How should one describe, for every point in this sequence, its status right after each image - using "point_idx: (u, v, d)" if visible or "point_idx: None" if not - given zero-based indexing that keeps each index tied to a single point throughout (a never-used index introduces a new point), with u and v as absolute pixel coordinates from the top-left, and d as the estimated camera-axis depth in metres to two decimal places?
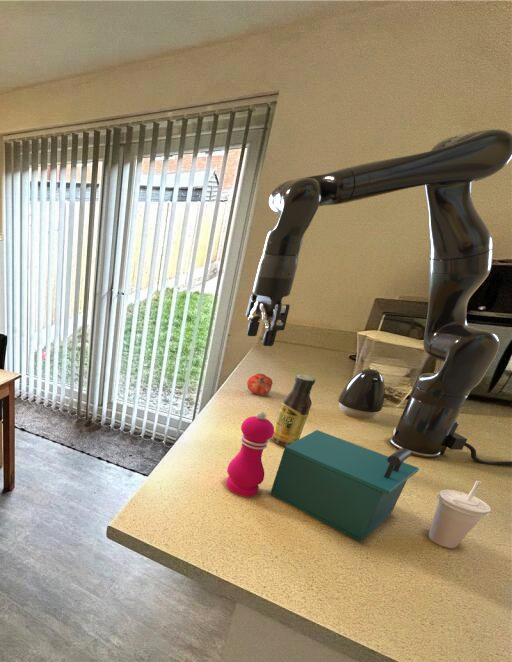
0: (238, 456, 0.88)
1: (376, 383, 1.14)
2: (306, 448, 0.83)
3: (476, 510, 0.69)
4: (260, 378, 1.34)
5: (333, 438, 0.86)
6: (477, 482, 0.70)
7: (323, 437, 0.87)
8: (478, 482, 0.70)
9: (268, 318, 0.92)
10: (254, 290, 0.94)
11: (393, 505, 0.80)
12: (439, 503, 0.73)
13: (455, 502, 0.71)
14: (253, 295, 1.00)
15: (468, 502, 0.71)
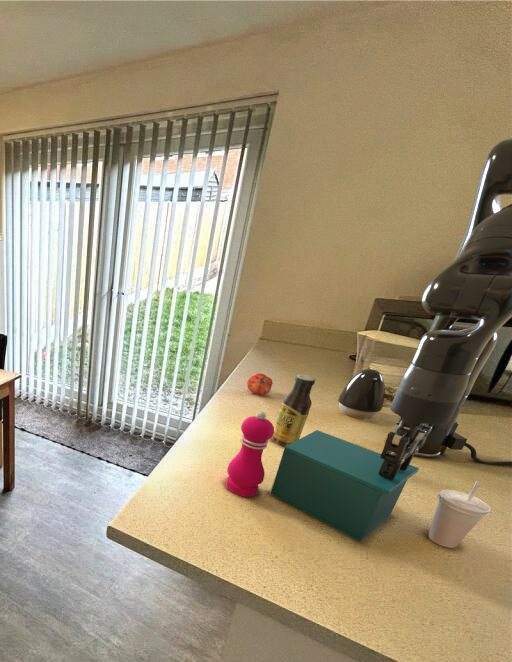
0: (238, 456, 0.88)
1: (376, 383, 1.14)
2: (306, 448, 0.83)
3: (476, 510, 0.69)
4: (260, 378, 1.34)
5: (333, 438, 0.86)
6: (477, 482, 0.70)
7: (323, 437, 0.87)
8: (478, 482, 0.70)
9: None
10: None
11: (393, 505, 0.80)
12: (439, 503, 0.73)
13: (455, 502, 0.71)
14: None
15: (468, 502, 0.71)
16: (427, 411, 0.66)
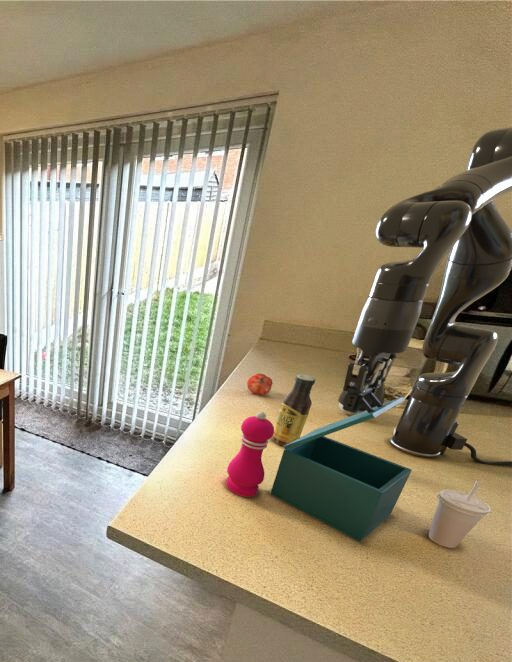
0: (238, 456, 0.88)
1: None
2: (302, 438, 0.83)
3: (476, 510, 0.69)
4: (260, 378, 1.34)
5: (329, 424, 0.86)
6: (477, 482, 0.70)
7: (319, 428, 0.87)
8: (478, 482, 0.70)
9: None
10: None
11: (393, 505, 0.80)
12: (439, 503, 0.73)
13: (455, 502, 0.71)
14: None
15: (468, 502, 0.71)
16: (384, 340, 0.69)
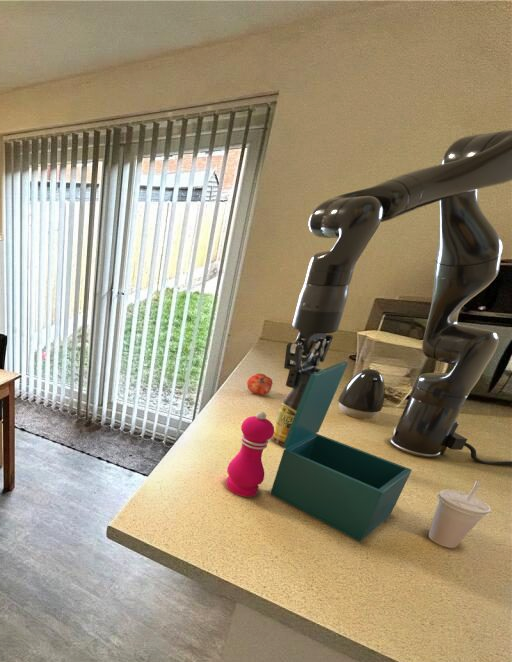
0: (238, 456, 0.88)
1: (376, 383, 1.14)
2: None
3: (476, 510, 0.69)
4: (260, 378, 1.34)
5: None
6: (477, 482, 0.70)
7: None
8: (478, 482, 0.70)
9: None
10: None
11: (393, 505, 0.80)
12: (439, 503, 0.73)
13: (455, 502, 0.71)
14: None
15: (468, 502, 0.71)
16: (316, 321, 0.77)
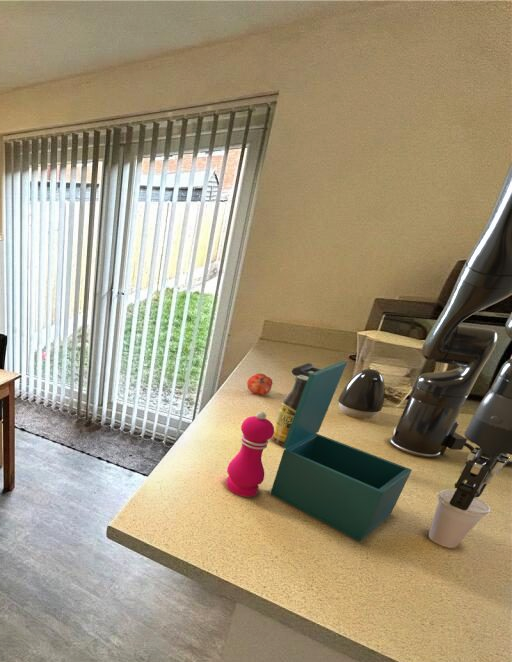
0: (238, 456, 0.88)
1: (376, 383, 1.14)
2: None
3: (476, 510, 0.69)
4: (260, 378, 1.34)
5: None
6: None
7: None
8: None
9: None
10: (466, 430, 0.69)
11: (393, 505, 0.80)
12: (439, 503, 0.73)
13: None
14: None
15: None
16: (510, 441, 0.63)
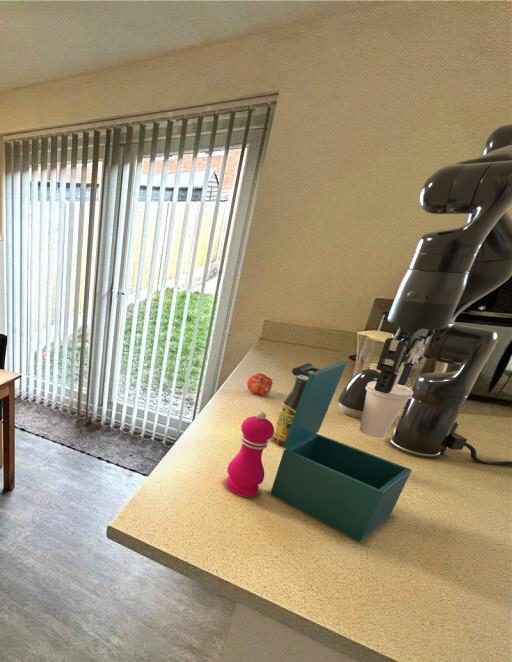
0: (238, 456, 0.88)
1: None
2: None
3: (399, 393, 0.70)
4: (260, 378, 1.34)
5: None
6: None
7: None
8: None
9: None
10: None
11: (393, 505, 0.80)
12: (367, 393, 0.74)
13: None
14: None
15: (393, 388, 0.72)
16: (425, 315, 0.64)
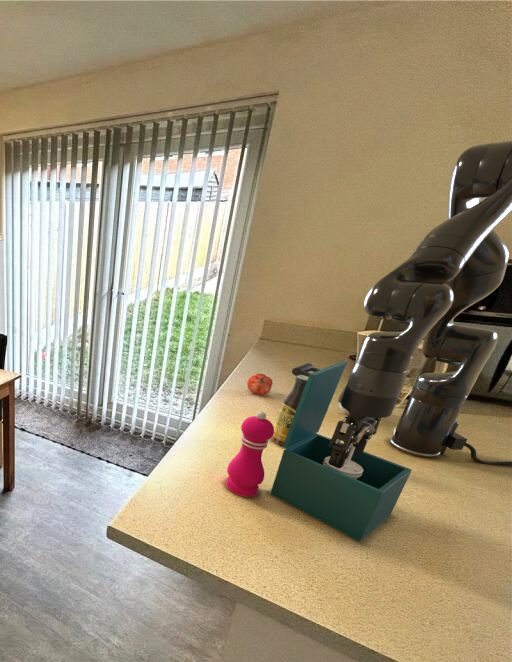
0: (238, 456, 0.88)
1: None
2: None
3: (350, 472, 0.79)
4: (260, 378, 1.34)
5: None
6: (352, 447, 0.79)
7: None
8: (353, 447, 0.79)
9: None
10: None
11: (393, 505, 0.80)
12: None
13: None
14: None
15: (345, 465, 0.80)
16: (370, 405, 0.72)
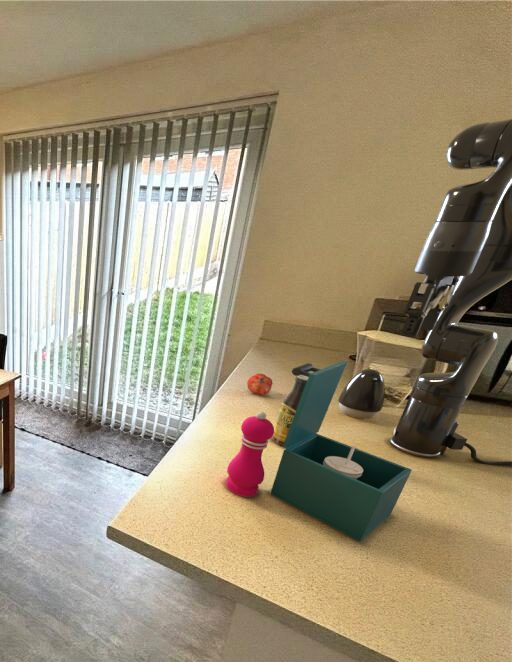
0: (238, 456, 0.88)
1: (376, 383, 1.14)
2: None
3: (350, 472, 0.79)
4: (260, 378, 1.34)
5: None
6: (352, 447, 0.79)
7: None
8: (353, 447, 0.79)
9: None
10: None
11: (393, 505, 0.80)
12: None
13: (334, 466, 0.81)
14: None
15: (345, 465, 0.80)
16: (451, 262, 0.70)
